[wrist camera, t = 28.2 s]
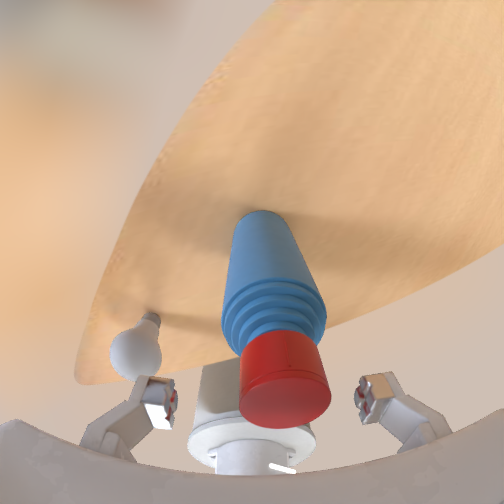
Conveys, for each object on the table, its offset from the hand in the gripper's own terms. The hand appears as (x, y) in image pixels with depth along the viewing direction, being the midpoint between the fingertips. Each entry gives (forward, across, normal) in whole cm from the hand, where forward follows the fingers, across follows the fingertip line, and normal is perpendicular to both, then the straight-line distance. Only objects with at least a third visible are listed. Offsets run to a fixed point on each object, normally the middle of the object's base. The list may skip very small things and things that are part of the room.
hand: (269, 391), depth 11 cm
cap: (+3, -1, +1) cm, 3 cm away
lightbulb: (+22, +13, +12) cm, 28 cm away
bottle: (+22, -1, 0) cm, 22 cm away
